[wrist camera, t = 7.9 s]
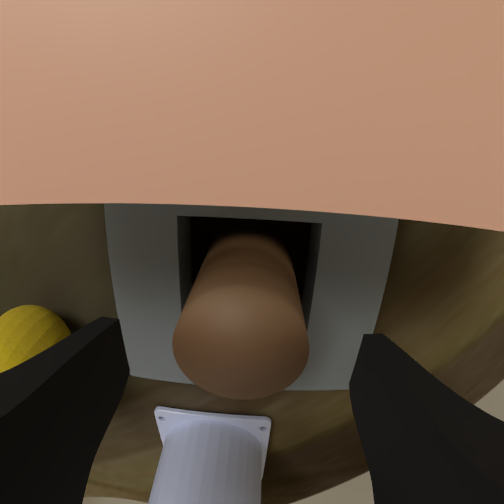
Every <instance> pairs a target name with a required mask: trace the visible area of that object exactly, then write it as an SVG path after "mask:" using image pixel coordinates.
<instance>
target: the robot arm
mask: <svg viewBox="0 0 504 504" xmlns="http://www.w3.org/2000/svg"><path fill="white" fill-rule="evenodd" d="M129 372H130V368H129V363H128V359H127V354H126V350H125V345H124V340H123V335H122V330H121V325H120V320H119V319H115V318H108V317H100V318H98V319H96V320H94V321H93V322H91V323H89V324H87V325H86V326H84V327H82V328H81V329H79V330H77V331H76V332H74V333H73V334H71V335H69V336H68V337H66V338H64V339H63V340H61V341H59V342H58V343H56V344H54V345H53V346H51V347H50V348H48V349H46V350H44V351H42V352H41V353H39V354H37V355H35V356H33V357H32V358H30V359H28V360H26V361H25V362H23V363H21V364H19V365H17V366H15V367H13V368H11V369H8V370H6V371H4V372H2V373H0V504H82V502H83V497H84V493H85V489H86V484H87V481H88V477H89V473H90V470H91V466H92V463H93V460H94V457H95V455H96V452H97V450H98V448H99V445H100V443H101V441H102V439H103V437H104V434H105V432H106V430H107V428H108V426H109V424H110V421H111V419H112V417H113V415H114V413H115V411H116V408H117V406H118V404H119V402H120V400H121V398H122V395H123V392H124V389H125V386H126V382H127V379H128V375H129ZM349 390H350V397H351V403H352V410H353V414H354V418H355V421H356V425H357V428H358V432H359V435H360V439H361V442H362V446H363V449H364V453H365V456H366V460H367V464H368V467H369V471H370V476H371V480H372V486H373V494H374V503H375V504H504V422H503V421H501V420H499V419H497V418H495V417H493V416H491V415H490V414H488V413H486V412H484V411H483V410H481V409H480V408H478V407H476V406H475V405H473V404H471V403H470V402H468V401H467V400H465V399H464V398H462V397H461V396H459V395H458V394H456V393H455V392H454V391H452V390H451V389H450V388H448V387H447V386H446V385H444V384H443V383H442V382H440V381H439V380H438V379H437V378H435V377H434V376H433V375H432V374H430V373H429V372H428V371H427V370H426V369H424V368H423V367H422V366H421V365H420V364H418V363H417V362H416V361H415V360H414V359H413V358H411V357H410V356H409V355H408V354H407V353H406V352H404V351H403V350H402V349H401V348H400V347H398V346H397V345H396V344H395V343H394V342H392V341H391V340H390V339H389V338H387V337H386V336H385V335H383V334H363V338H362V342H361V345H360V349H359V352H358V356H357V359H356V362H355V366H354V369H353V372H352V375H351V379H350V382H349ZM154 414H155V418H156V422H157V425H158V429H159V433H160V436H161V440H162V443H163V449H162V453H161V457H160V460H159V464H158V468H157V471H156V475H155V479H154V483H153V487H152V490H151V494H150V498H149V502H148V504H261V480H262V477H263V472H264V466H265V460H266V454H267V448H268V442H269V435H270V429H271V419H270V418H269V417H266V416H248V415H232V414H219V413H209V412H199V411H191V410H183V409H175V408H168V407H162V406H158V407H156V408H155V411H154Z"/></svg>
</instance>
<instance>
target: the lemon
mask: <svg viewBox="0 0 504 504" xmlns="http://www.w3.org/2000/svg"><path fill="white" fill-rule="evenodd" d="M69 335H71V333H70V330H69V328H68V327H67V325H66V324H65V323H64V321H63V320H62V319H61V318H60V317H59V316H58V315H57V314H55V313H54V312H52V311H51V310H49V309H47V308H44V307H41V306H38V305H23V306H19V307H16V308H14V309H11V310H9V311H7V312H6V313H4V314H3V315H2V316H1V317H0V373H2V372H4V371H6V370H8V369H11V368H13V367H15V366H17V365H19V364H21V363H23V362H25V361H26V360H28V359H30V358H32V357H33V356H35V355H37V354H39V353H41V352H42V351H44V350H46V349H48V348H50V347H51V346H53V345H54V344H56V343H58V342H59V341H61V340H63V339H64V338H66V337H68V336H69Z"/></svg>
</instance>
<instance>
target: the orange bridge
mask: <svg viewBox="0 0 504 504" xmlns="http://www.w3.org/2000/svg"><path fill="white" fill-rule="evenodd" d="M56 203H141V204H185V205H213V206H236V207H256V208H273V209H289V210H304V211H318V212H331V213H344V214H355V215H367V216H377V217H388V218H398V219H407V220H417V221H426V222H434V223H443V224H451V225H459V226H467V227H474V228H482V229H489V230H496V231H503V232H504V0H0V205H16V204H56Z"/></svg>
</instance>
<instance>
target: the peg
mask: <svg viewBox="0 0 504 504" xmlns="http://www.w3.org/2000/svg"><path fill="white" fill-rule="evenodd" d="M172 348H173V354H174V357H175V360H176V362H177V364H178V366H179V368H180V369H181V371H182V372H183V373H184V374H185V376H186V377H187V378H188V379H189V380H190V381H192V382H193V383H194V384H195V385H197V386H198V387H200V388H202V389H203V390H205V391H207V392H209V393H212V394H214V395H217V396H221V397H224V398H229V399H237V400H251V399H259V398H264V397H267V396H271V395H273V394H276V393H278V392H280V391H282V390H284V389H286V388H287V387H288V386H290V385H291V384H292V383H293V382H295V381H296V380H297V379H298V377H299V376H300V375H301V374H302V372H303V370H304V369H305V366H306V364H307V362H308V357H309V340H308V335H307V330H306V325H305V320H304V315H303V311H302V306H301V301H300V296H299V291H298V287H297V282H296V277H295V273H294V268H293V264H292V259H291V255H290V251H289V247H288V245H287V243H286V241H285V240H284V238H283V237H282V236H281V234H280V233H279V232H277V231H276V230H275V229H274V228H272V227H270V226H268V225H266V224H264V223H261V222H256V221H242V222H237V223H234V224H231V225H229V226H227V227H226V228H224V229H223V230H222V231H220V232H219V233H218V234H217V236H216V237H215V238H214V240H213V241H212V243H211V245H210V248H209V250H208V252H207V255H206V257H205V259H204V261H203V264H202V266H201V268H200V271H199V273H198V275H197V278H196V280H195V282H194V285H193V287H192V289H191V292H190V294H189V296H188V299H187V301H186V303H185V306H184V308H183V311H182V313H181V315H180V318H179V320H178V323H177V325H176V327H175V330H174V334H173V339H172Z"/></svg>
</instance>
